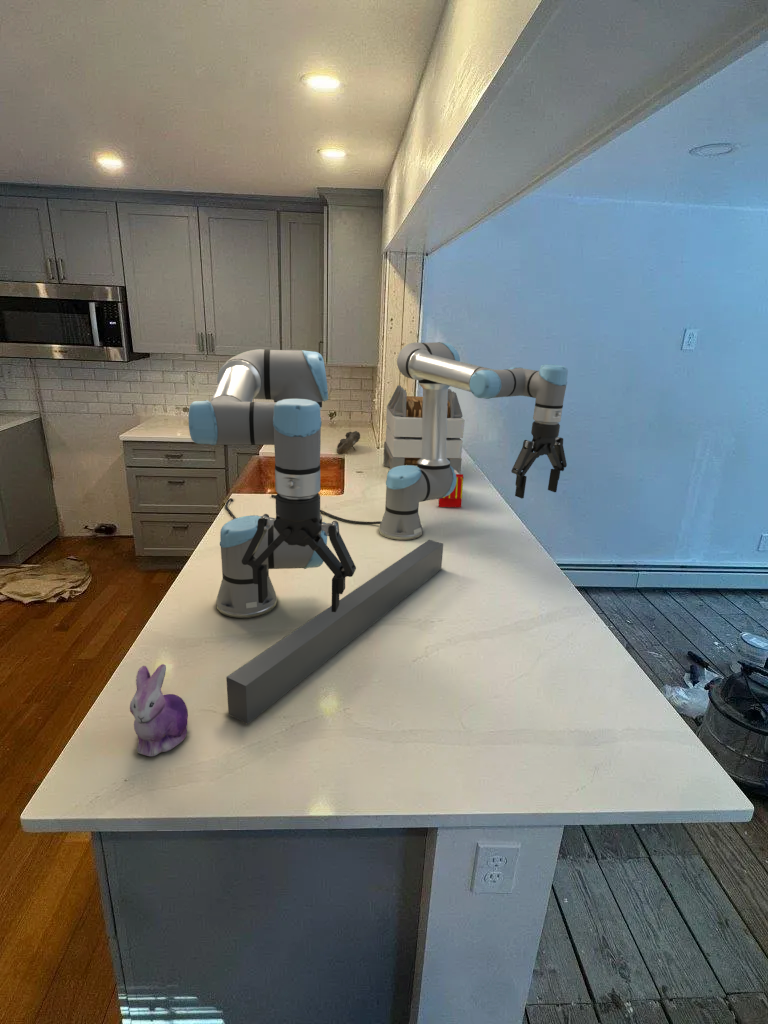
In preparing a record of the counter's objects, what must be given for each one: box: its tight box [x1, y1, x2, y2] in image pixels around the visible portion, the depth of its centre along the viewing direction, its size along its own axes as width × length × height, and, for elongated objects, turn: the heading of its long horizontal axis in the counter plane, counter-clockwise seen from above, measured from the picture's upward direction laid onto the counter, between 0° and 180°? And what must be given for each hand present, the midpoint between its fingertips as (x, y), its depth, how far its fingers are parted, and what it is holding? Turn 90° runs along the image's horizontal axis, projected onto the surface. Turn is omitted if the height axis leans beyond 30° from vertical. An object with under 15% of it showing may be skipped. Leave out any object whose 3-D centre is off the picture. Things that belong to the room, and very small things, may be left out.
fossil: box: [336, 430, 361, 454], centre depth 311 cm, size 22×10×15 cm
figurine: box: [129, 663, 189, 757], centre depth 99 cm, size 9×10×15 cm
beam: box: [226, 539, 444, 725], centre depth 140 cm, size 83×5×9 cm, turn 149°
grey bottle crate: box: [383, 384, 465, 474], centre depth 268 cm, size 34×33×41 cm
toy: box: [438, 470, 464, 508], centre depth 240 cm, size 12×13×30 cm
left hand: (298, 604), depth 103 cm, fingers open, 13 cm apart
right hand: (535, 494), depth 166 cm, fingers open, 13 cm apart
